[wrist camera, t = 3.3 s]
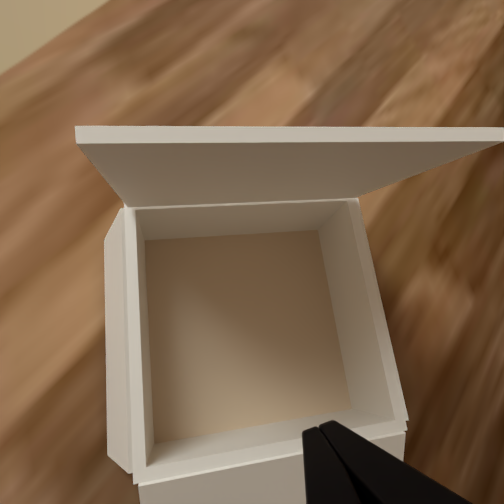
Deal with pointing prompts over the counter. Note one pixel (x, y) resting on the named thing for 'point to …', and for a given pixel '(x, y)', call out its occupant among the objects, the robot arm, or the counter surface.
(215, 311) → the carton
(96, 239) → the counter surface
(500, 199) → the counter surface
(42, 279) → the counter surface
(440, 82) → the counter surface
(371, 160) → the carton flap
